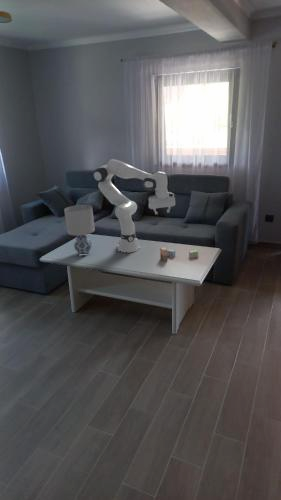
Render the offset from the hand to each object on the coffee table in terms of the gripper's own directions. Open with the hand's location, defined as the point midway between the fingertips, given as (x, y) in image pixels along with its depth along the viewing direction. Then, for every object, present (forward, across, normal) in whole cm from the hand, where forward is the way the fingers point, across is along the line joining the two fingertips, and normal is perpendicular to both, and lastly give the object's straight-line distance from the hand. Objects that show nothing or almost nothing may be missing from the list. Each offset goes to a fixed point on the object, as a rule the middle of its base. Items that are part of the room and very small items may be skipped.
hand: (162, 213), depth 255 cm
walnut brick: (+33, -3, -9) cm, 35 cm away
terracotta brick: (+29, -4, -9) cm, 30 cm away
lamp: (+34, -56, +34) cm, 74 cm away
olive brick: (+33, +19, -14) cm, 40 cm away
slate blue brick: (+33, +5, -4) cm, 34 cm away
